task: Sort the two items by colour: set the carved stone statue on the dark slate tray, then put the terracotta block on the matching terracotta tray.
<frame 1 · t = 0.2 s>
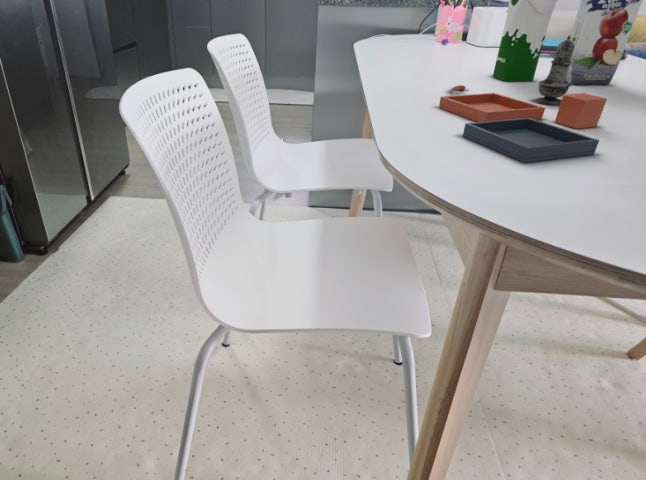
terracotta tray: (488, 113, 86), on the table
slate tray: (524, 144, 69), on the table
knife: (457, 94, 100), on the table
terracotta block: (575, 124, 79), on the table
soya milk: (512, 79, 116), on the table
juice carton: (582, 83, 112), on the table
carved stone statue: (548, 103, 94), on the table
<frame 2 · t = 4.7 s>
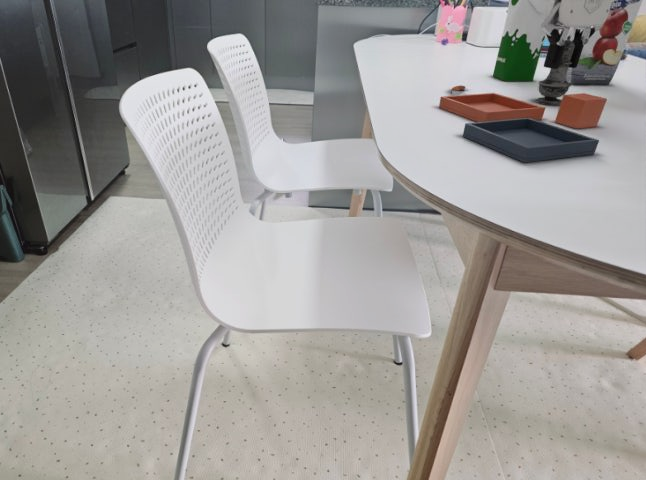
hand: (560, 66, 90), 7 cm above the table, tool pointing down, fingers closed on carved stone statue, 3 cm apart
carved stone statue: (548, 103, 94), on the table, touching gripper
everything else where it was.
when the fingers open (7 cm above the table, at t = 12.3 s): carved stone statue stays where it is, resting on slate tray.
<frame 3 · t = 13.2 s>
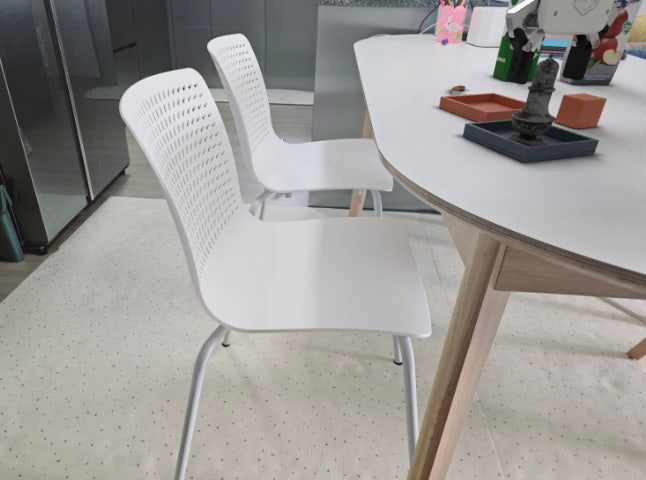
hand: (544, 80, 65), 9 cm above the table, tool pointing down, fingers open, 9 cm apart
carved stone statue: (525, 142, 69), resting on slate tray
everything else where it was.
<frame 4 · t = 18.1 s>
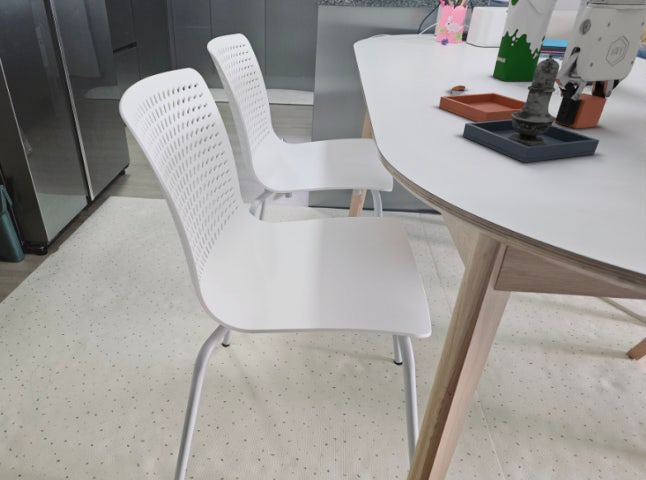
hand: (576, 120, 79), 1 cm above the table, tool pointing down, fingers closed on terracotta block, 4 cm apart
terracotta block: (575, 124, 79), on the table, touching gripper
everything else where it was.
when the fingers open (1 cm above the table, at t = 25.0 s): terracotta block stays where it is, resting on terracotta tray.
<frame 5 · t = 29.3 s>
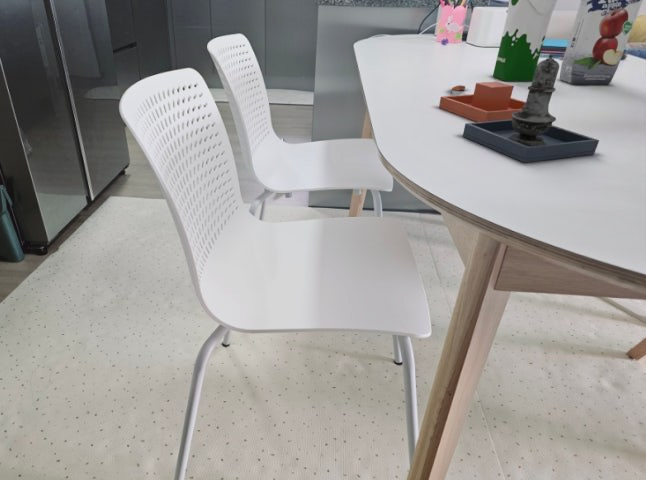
terracotta block: (488, 110, 86), resting on terracotta tray
everything else where it was.
at the end: carved stone statue inside the target area in the slate tray (0.1 cm from its centre), point 0.3 cm above the slate tray's base; carved stone statue tilted 0°; terracotta block inside the target area in the terracotta tray (0.1 cm from its centre), point 0.5 cm above the terracotta tray's base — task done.
